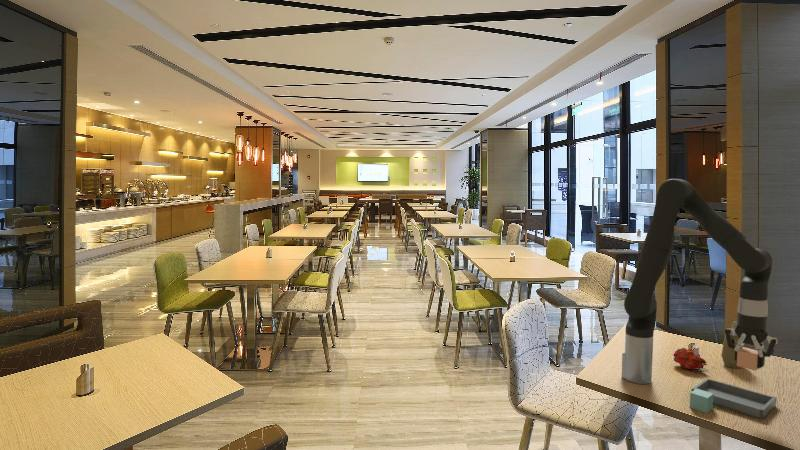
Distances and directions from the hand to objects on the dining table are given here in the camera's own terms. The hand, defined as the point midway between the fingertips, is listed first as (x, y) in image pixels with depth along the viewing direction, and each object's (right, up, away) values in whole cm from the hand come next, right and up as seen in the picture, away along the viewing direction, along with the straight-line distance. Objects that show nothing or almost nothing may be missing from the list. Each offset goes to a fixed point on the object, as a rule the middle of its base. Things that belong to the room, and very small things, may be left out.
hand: (749, 364), depth 151 cm
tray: (0, -15, +8) cm, 17 cm away
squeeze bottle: (+22, -12, +39) cm, 46 cm away
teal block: (-13, -15, +4) cm, 20 cm away
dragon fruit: (+3, -12, +36) cm, 39 cm away
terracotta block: (0, 0, 0) cm, 0 cm away
